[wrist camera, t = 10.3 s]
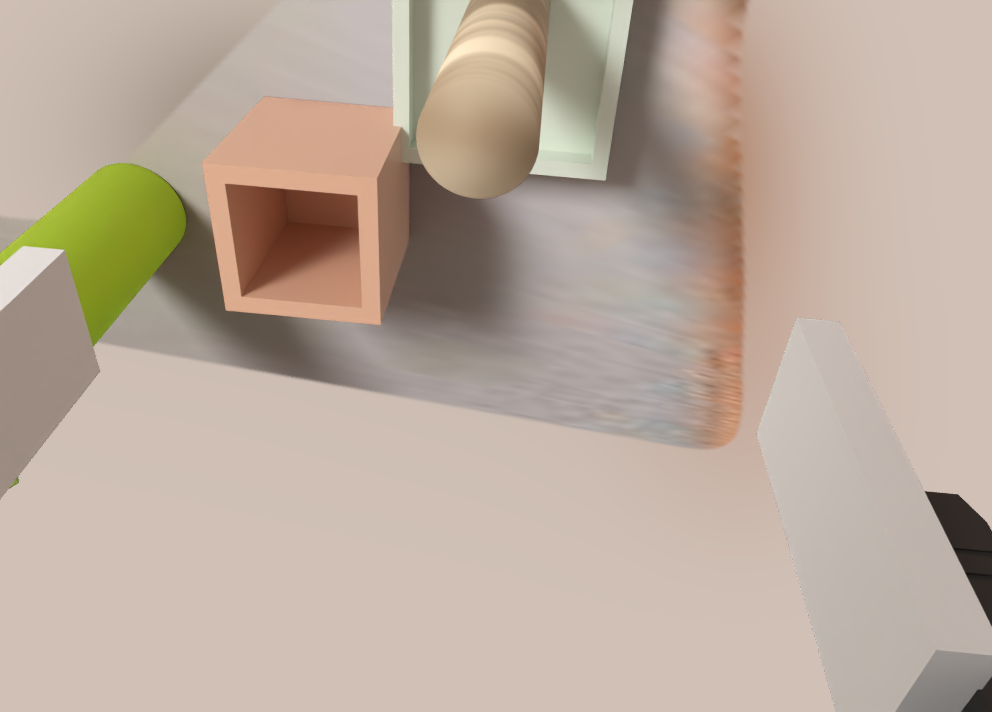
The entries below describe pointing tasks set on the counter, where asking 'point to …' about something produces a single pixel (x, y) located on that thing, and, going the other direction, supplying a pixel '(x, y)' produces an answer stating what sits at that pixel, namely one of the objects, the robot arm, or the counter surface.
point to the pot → (310, 210)
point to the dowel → (487, 100)
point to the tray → (567, 86)
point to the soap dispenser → (110, 238)
